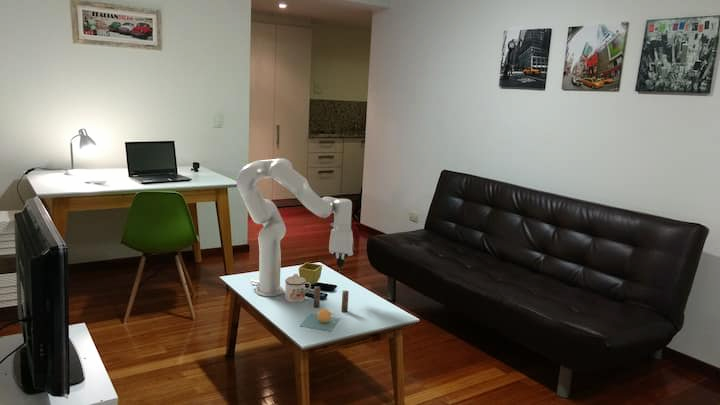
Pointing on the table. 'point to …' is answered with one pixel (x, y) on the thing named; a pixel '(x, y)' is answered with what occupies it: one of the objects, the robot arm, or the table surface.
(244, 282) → the table surface
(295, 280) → the teacup with lid
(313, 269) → the flower pot
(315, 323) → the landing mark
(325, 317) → the ball
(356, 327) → the table surface
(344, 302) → the right post
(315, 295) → the left post
